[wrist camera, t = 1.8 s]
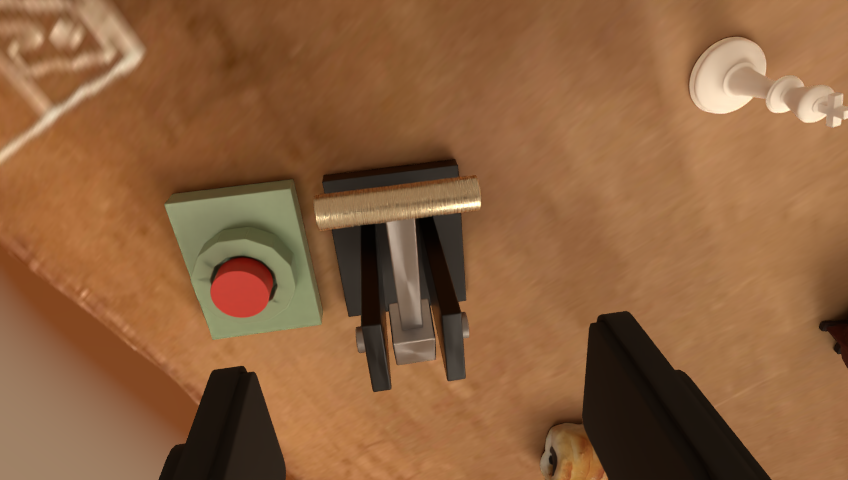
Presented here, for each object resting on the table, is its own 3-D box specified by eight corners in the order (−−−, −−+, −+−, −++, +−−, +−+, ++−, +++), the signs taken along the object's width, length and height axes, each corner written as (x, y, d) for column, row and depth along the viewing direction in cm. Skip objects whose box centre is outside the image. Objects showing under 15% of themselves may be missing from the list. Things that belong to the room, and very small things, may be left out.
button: (209, 260, 34) (202, 275, 32) (265, 253, 34) (261, 267, 32) (225, 306, 35) (218, 321, 34) (278, 299, 35) (274, 314, 34)
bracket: (323, 175, 35) (306, 275, 24) (455, 158, 35) (500, 249, 24) (349, 307, 40) (345, 441, 29) (463, 292, 41) (503, 417, 29)
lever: (312, 176, 19) (313, 228, 18) (472, 157, 20) (485, 205, 18) (359, 331, 30) (362, 370, 28) (462, 316, 30) (470, 355, 29)
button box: (172, 193, 34) (153, 216, 31) (293, 178, 35) (287, 199, 32) (218, 325, 40) (206, 356, 37) (323, 311, 40) (320, 340, 37)
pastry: (640, 418, 50) (661, 451, 47) (621, 465, 53) (639, 500, 50) (547, 420, 49) (561, 454, 45) (533, 468, 52) (545, 504, 48)
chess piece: (690, 122, 36) (797, 173, 27) (686, 51, 34) (801, 82, 25) (760, 98, 36) (890, 142, 27) (760, 25, 33) (903, 48, 25)
